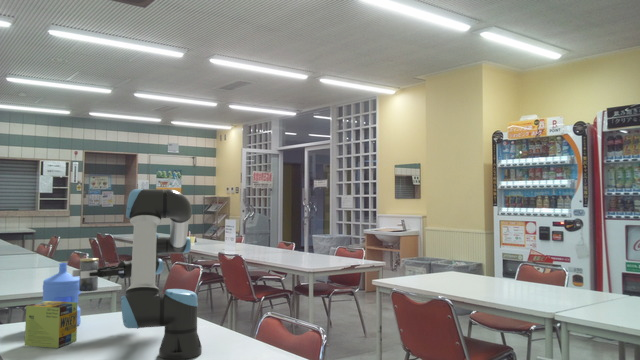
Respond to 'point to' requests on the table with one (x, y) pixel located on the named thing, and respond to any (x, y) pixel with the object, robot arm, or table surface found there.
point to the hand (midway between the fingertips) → (76, 274)
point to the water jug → (62, 288)
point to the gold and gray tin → (88, 283)
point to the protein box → (51, 324)
